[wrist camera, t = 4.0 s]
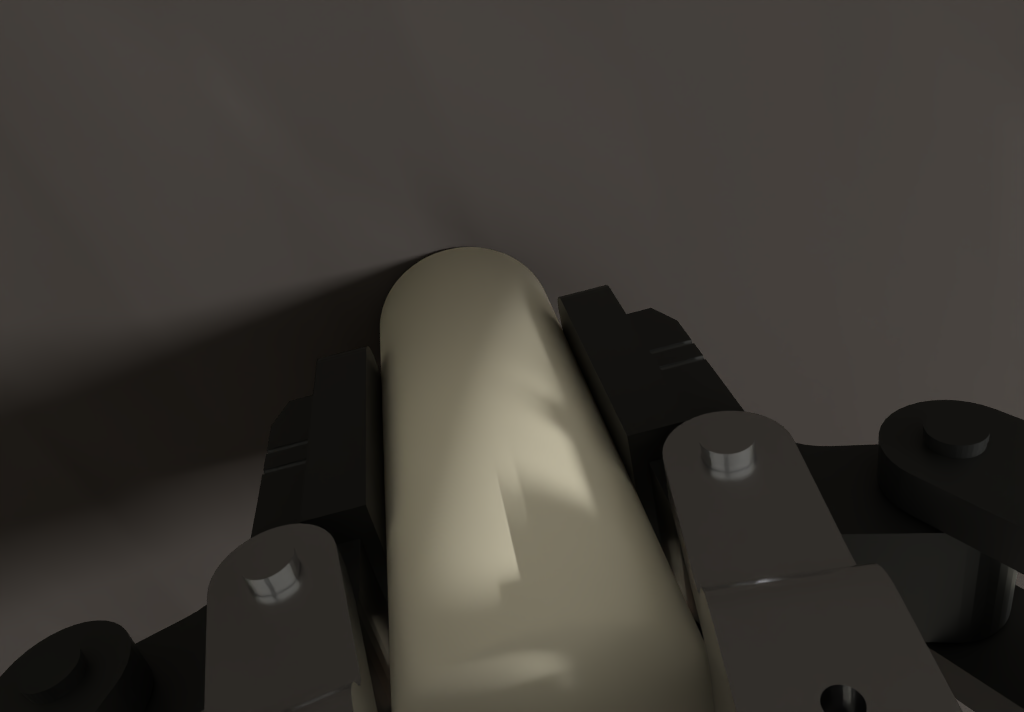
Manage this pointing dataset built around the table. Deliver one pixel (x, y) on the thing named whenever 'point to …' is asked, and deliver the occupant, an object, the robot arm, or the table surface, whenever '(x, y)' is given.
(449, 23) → the table surface
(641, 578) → the cube base joystick
